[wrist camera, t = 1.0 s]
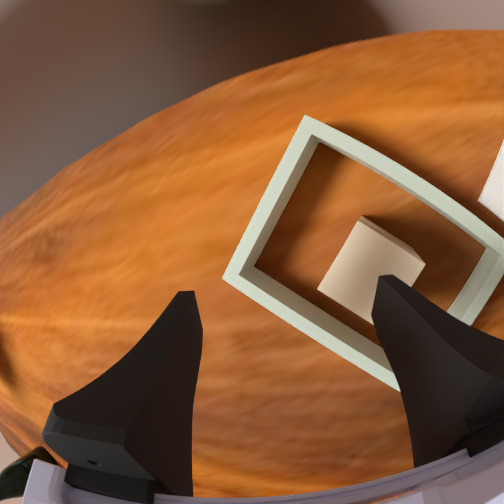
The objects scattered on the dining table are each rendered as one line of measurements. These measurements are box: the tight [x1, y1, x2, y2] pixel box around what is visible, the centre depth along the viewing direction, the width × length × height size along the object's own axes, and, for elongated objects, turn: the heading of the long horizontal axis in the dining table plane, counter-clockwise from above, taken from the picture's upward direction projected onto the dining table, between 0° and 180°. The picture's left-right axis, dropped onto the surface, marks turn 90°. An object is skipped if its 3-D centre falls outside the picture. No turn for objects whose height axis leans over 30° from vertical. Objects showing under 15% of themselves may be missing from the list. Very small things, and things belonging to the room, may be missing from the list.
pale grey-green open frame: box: [222, 115, 504, 391], centre depth 20 cm, size 17×13×3 cm
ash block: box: [317, 216, 426, 325], centre depth 19 cm, size 4×4×6 cm
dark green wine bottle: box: [0, 446, 58, 501], centre depth 45 cm, size 10×10×33 cm
